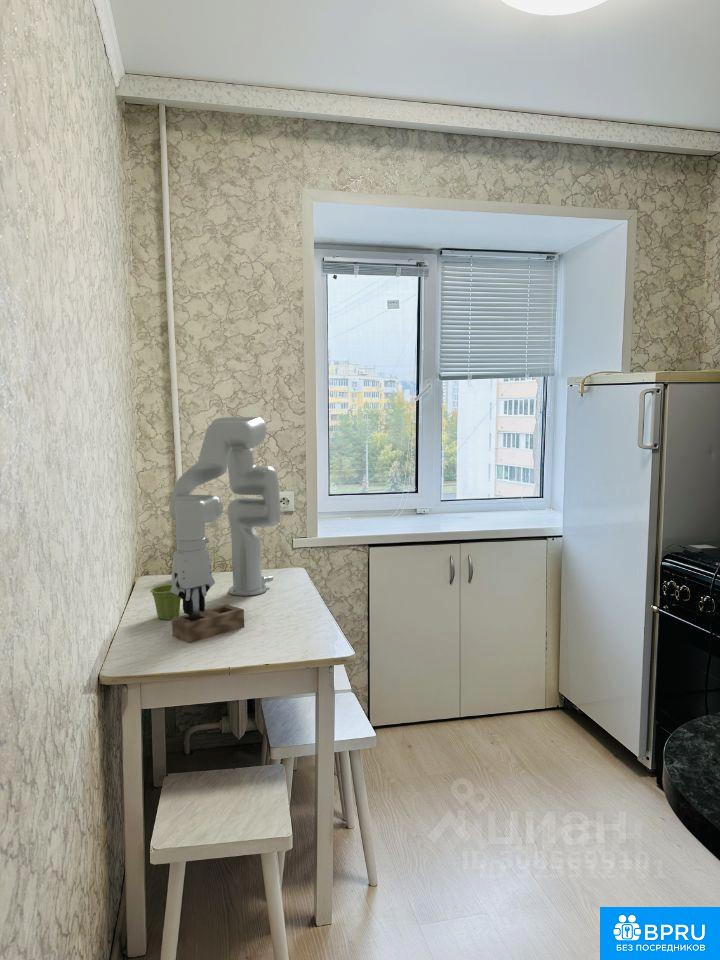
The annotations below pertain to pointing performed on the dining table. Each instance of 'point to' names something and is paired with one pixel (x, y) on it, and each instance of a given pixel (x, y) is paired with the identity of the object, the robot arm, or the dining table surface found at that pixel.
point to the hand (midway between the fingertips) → (194, 611)
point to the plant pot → (166, 602)
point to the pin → (195, 604)
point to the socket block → (208, 623)
